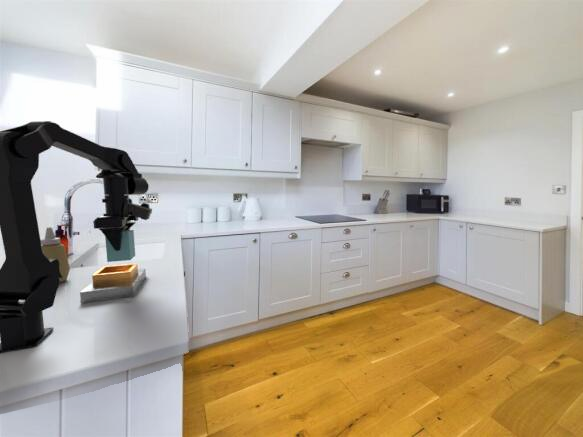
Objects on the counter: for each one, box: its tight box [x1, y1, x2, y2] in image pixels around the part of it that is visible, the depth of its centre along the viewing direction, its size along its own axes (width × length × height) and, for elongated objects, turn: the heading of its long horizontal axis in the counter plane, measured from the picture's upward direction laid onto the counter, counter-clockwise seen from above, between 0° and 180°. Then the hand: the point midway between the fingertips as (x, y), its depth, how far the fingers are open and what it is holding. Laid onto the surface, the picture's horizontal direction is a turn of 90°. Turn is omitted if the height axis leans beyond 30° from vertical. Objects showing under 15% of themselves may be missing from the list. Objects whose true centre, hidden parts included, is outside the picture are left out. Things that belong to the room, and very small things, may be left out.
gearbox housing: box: [79, 263, 147, 304], centre depth 76 cm, size 19×12×6 cm, turn 21°
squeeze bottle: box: [40, 226, 71, 283], centre depth 80 cm, size 8×8×18 cm
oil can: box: [104, 229, 136, 263], centre depth 73 cm, size 6×6×11 cm
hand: (120, 248), depth 73 cm, fingers closed on oil can, 6 cm apart
